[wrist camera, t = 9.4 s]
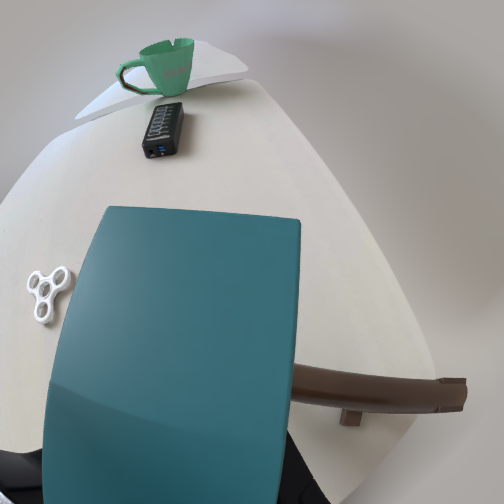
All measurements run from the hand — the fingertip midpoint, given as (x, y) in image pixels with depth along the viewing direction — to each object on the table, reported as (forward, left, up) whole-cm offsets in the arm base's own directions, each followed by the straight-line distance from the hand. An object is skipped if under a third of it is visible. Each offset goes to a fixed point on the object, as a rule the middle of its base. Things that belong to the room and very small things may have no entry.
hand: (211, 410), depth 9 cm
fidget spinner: (+17, +15, -12) cm, 26 cm away
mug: (+49, -9, -13) cm, 52 cm away
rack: (-2, -4, -12) cm, 13 cm away
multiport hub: (+35, -6, -13) cm, 38 cm away
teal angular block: (0, 0, -7) cm, 7 cm away
